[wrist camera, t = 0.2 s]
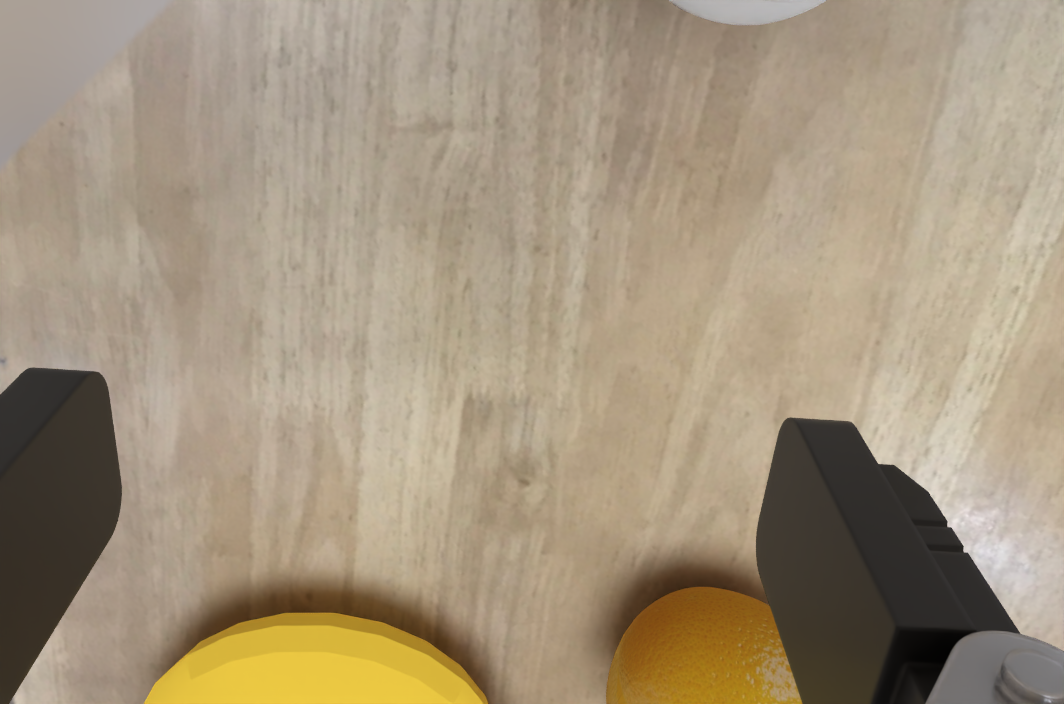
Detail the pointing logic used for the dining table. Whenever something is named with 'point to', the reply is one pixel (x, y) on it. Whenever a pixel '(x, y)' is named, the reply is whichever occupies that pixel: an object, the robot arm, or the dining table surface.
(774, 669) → the fruit
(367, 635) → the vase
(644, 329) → the dining table surface
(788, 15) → the pill bottle
